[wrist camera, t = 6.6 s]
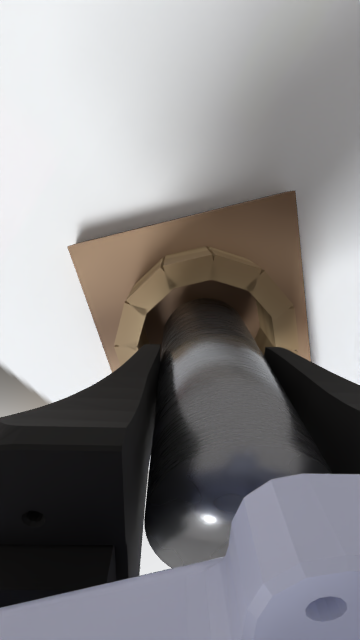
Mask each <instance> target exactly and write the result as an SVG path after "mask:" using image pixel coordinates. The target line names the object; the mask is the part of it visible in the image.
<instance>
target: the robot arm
mask: <svg viewBox="0 0 360 640" xmlns="http://www.w3.org/2000/svg"><path fill="white" fill-rule="evenodd" d="M160 354H161V344H144V345H143V346H142V347H141V348H140V349H139V350H138V351H137V352H136V353H135V354H134V355H133V356H132V357H131V358H130V359H128V360H127V361H126V362H125V363H124V364H123V365H122V366H120V367H119V368H118V369H117V370H115V371H114V372H113V373H111V374H110V375H109V376H107V377H106V378H104V379H102V380H101V381H99V382H97V383H96V384H94V385H92V386H90V387H89V388H86V389H84V390H82V391H80V392H78V393H76V394H74V395H72V396H70V397H67V398H65V399H62V400H59V401H57V402H54V403H51V404H48V405H45V406H42V407H40V408H36V409H32V410H29V411H25V412H21V413H17V414H13V415H9V416H5V417H1V418H0V640H360V385H358V384H355V383H353V382H351V381H348V380H346V379H344V378H342V377H340V376H338V375H336V374H334V373H332V372H330V371H328V370H326V369H324V368H322V367H320V366H318V365H316V364H314V363H312V362H310V361H309V360H307V359H305V358H303V357H301V356H299V355H297V354H295V353H293V352H291V351H289V350H287V349H285V348H282V347H265V353H264V357H265V359H266V360H267V362H268V364H269V366H270V367H271V369H272V371H273V372H274V374H275V376H276V378H277V379H278V381H279V383H280V384H281V386H282V388H283V390H284V391H285V393H286V395H287V396H288V398H289V400H290V402H291V403H292V405H293V407H294V408H295V410H296V412H297V414H298V415H299V417H300V419H301V420H302V422H303V424H304V426H305V427H306V429H307V431H308V432H309V434H310V436H311V438H312V439H313V441H314V443H315V444H316V446H317V448H318V450H319V451H320V453H321V455H322V456H323V458H324V460H325V462H326V463H327V465H328V467H329V468H330V470H331V472H332V474H304V473H302V474H297V475H291V476H286V477H280V478H275V479H271V480H269V481H268V482H266V483H265V484H263V485H262V486H260V487H259V488H257V489H256V490H254V491H252V492H251V493H249V494H248V495H247V496H245V497H244V498H243V500H242V502H241V504H240V506H239V508H238V510H237V512H236V514H235V516H234V518H233V520H232V523H231V530H230V538H229V545H228V549H227V552H226V555H225V556H224V557H220V558H215V559H211V560H206V561H202V562H198V563H193V564H189V565H185V566H180V567H176V568H172V569H167V570H163V571H158V572H154V573H150V574H145V575H141V576H139V571H140V558H141V546H142V533H143V520H144V508H145V497H146V486H147V474H148V467H149V461H150V455H151V449H152V439H153V429H154V419H155V409H156V399H157V388H158V380H159V371H160Z"/></svg>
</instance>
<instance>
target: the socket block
mask: <svg viewBox="0 0 360 640" xmlns="http://www.w3.org/2000/svg"><path fill="white" fill-rule="evenodd" d="M68 250H69V253H70V255H71V258H72V261H73V264H74V267H75V269H76V272H77V275H78V278H79V281H80V283H81V286H82V289H83V292H84V295H85V297H86V300H87V303H88V306H89V309H90V311H91V314H92V317H93V320H94V323H95V326H96V328H97V331H98V334H99V337H100V340H101V342H102V345H103V348H104V351H105V354H106V356H107V359H108V362H109V365H110V368H111V370H112V373H113V372H114V371H115V370H117V369H118V368H119V367H120V366H122V365H123V364H124V363H125V362H126V361H127V360H128V359H130V358H131V357H132V356H133V355H134V354H135V353H136V352H137V351H138V350H139V349H140V348H141V347H142V346H143V345H144V344H161V348H162V338H163V330H164V327H165V324H166V322H167V320H168V318H169V317H170V315H171V314H172V313H173V312H174V311H175V310H176V309H177V308H178V307H180V306H181V305H183V304H185V303H186V302H189V301H192V300H195V299H201V298H211V299H217V300H220V301H223V302H225V303H227V304H229V305H230V306H232V307H233V308H234V309H235V310H236V311H237V312H238V313H239V315H240V316H241V318H242V319H243V321H244V323H245V324H246V326H247V328H248V330H249V331H250V333H251V335H252V336H253V338H254V340H255V342H256V343H257V345H258V347H259V348H260V350H261V352H262V354H263V355H264V353H265V347H282V348H285V349H287V350H289V351H291V352H293V353H295V354H297V355H299V356H301V357H303V358H305V359H307V360H309V361H310V362H311V358H310V347H309V336H308V325H307V314H306V303H305V292H304V281H303V270H302V259H301V248H300V237H299V226H298V215H297V204H296V193H295V191H289V192H284V193H280V194H276V195H272V196H268V197H264V198H259V199H255V200H251V201H247V202H243V203H239V204H235V205H231V206H227V207H223V208H219V209H215V210H211V211H207V212H203V213H199V214H195V215H190V216H186V217H182V218H178V219H174V220H170V221H166V222H162V223H158V224H154V225H150V226H146V227H142V228H138V229H134V230H130V231H125V232H121V233H117V234H113V235H109V236H105V237H101V238H97V239H93V240H89V241H85V242H81V243H77V244H73V245H71V246H68ZM160 358H161V354H160Z"/></svg>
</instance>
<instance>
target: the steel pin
mask: <svg viewBox="0 0 360 640" xmlns="http://www.w3.org/2000/svg"><path fill="white" fill-rule="evenodd" d="M302 473H304V474H332V472H331V470H330V468H329V467H328V465H327V463H326V462H325V460H324V458H323V456H322V455H321V453H320V451H319V450H318V448H317V446H316V444H315V443H314V441H313V439H312V438H311V436H310V434H309V432H308V431H307V429H306V427H305V426H304V424H303V422H302V420H301V419H300V417H299V415H298V414H297V412H296V410H295V408H294V407H293V405H292V403H291V402H290V400H289V398H288V396H287V395H286V393H285V391H284V390H283V388H282V386H281V384H280V383H279V381H278V379H277V378H276V376H275V374H274V372H273V371H272V369H271V367H270V366H269V364H268V362H267V360H266V359H265V357H264V355H263V354H262V352H261V350H260V348H259V347H258V345H257V343H256V342H255V340H254V338H253V336H252V335H251V333H250V331H249V330H248V328H247V326H246V324H245V323H244V321H243V319H242V318H241V316H240V315H239V313H238V312H237V311H236V310H235V309H234V308H233V307H232V306H230V305H229V304H227V303H225V302H223V301H220V300H217V299H211V298H201V299H195V300H192V301H189V302H186V303H185V304H183V305H181V306H180V307H178V308H177V309H176V310H175V311H174V312H173V313H172V314H171V315H170V317H169V318H168V320H167V322H166V324H165V327H164V330H163V338H162V348H161V358H160V371H159V380H158V388H157V399H156V409H155V419H154V429H153V439H152V449H151V459H150V469H149V479H148V489H147V499H146V509H145V519H144V520H145V532H146V536H147V539H148V541H149V544H150V546H151V547H152V549H153V550H154V552H155V553H156V555H157V556H158V557H159V558H160V559H161V560H162V561H163V562H164V563H166V564H167V565H168V566H170V567H171V568H176V567H180V566H185V565H189V564H193V563H198V562H202V561H206V560H211V559H215V558H220V557H224V556H225V555H226V552H227V549H228V545H229V538H230V530H231V523H232V520H233V518H234V516H235V514H236V512H237V510H238V508H239V506H240V504H241V502H242V500H243V498H244V497H245V496H247V495H248V494H249V493H251V492H252V491H254V490H256V489H257V488H259V487H260V486H262V485H263V484H265V483H266V482H268V481H269V480H271V479H275V478H280V477H286V476H291V475H297V474H302Z"/></svg>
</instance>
